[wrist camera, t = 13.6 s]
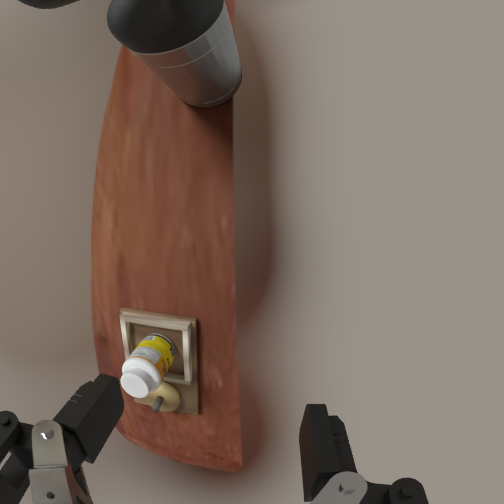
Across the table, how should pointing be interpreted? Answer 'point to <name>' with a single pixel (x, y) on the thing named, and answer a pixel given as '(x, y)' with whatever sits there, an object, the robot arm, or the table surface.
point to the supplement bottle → (147, 365)
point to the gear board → (183, 366)
